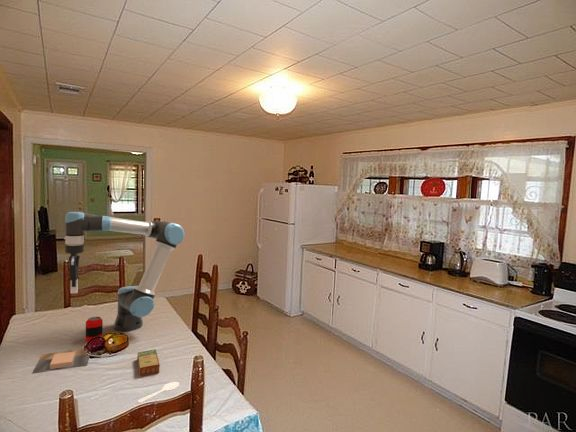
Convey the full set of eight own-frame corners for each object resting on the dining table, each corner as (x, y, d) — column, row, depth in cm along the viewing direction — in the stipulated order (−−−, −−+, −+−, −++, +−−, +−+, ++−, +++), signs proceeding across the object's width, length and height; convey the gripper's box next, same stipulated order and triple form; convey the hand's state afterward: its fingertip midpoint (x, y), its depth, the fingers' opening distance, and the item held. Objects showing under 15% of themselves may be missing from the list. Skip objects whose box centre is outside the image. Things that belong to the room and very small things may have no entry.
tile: (75, 351, 158) (71, 361, 149) (75, 355, 158) (71, 365, 149) (54, 354, 155) (50, 364, 146) (54, 358, 155) (50, 368, 146)
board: (91, 350, 166) (91, 348, 166) (87, 368, 150) (87, 365, 150) (42, 356, 158) (42, 354, 158) (31, 376, 142) (31, 373, 142)
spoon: (134, 400, 130) (134, 399, 130) (174, 381, 144) (174, 379, 144) (141, 406, 126) (141, 404, 126) (182, 385, 141) (182, 384, 141)
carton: (139, 377, 146) (139, 367, 145) (137, 360, 160) (137, 351, 160) (159, 373, 149) (159, 363, 149) (156, 357, 164) (156, 348, 163)
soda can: (104, 341, 176) (104, 318, 176) (88, 345, 171) (88, 322, 170) (99, 336, 182) (99, 314, 181) (83, 340, 176) (83, 318, 175)
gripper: (67, 242, 167) (67, 289, 168) (62, 246, 155) (62, 297, 156) (85, 242, 170) (84, 288, 171) (81, 246, 158) (81, 296, 160)
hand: (74, 292), depth 164 cm, fingers closed
